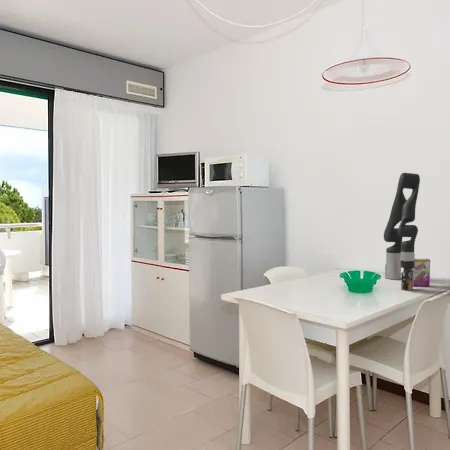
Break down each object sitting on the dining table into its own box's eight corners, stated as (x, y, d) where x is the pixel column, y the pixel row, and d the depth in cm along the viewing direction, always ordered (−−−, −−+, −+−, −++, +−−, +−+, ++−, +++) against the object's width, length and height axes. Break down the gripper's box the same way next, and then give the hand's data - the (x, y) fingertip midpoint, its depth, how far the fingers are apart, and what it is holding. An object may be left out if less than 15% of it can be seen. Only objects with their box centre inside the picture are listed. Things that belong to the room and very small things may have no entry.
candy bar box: (410, 286, 251) (411, 259, 250) (407, 284, 256) (408, 258, 255) (430, 286, 250) (430, 259, 249) (427, 284, 255) (427, 258, 254)
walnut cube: (401, 289, 241) (401, 281, 241) (404, 288, 245) (404, 279, 245) (410, 290, 238) (410, 282, 238) (413, 289, 242) (413, 280, 242)
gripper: (404, 257, 249) (404, 286, 250) (396, 260, 238) (396, 290, 239) (418, 258, 244) (417, 287, 245) (410, 261, 233) (410, 291, 234)
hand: (407, 288), depth 242 cm, fingers closed on walnut cube, 5 cm apart
